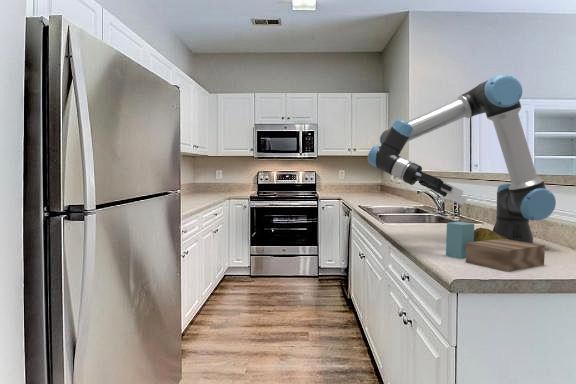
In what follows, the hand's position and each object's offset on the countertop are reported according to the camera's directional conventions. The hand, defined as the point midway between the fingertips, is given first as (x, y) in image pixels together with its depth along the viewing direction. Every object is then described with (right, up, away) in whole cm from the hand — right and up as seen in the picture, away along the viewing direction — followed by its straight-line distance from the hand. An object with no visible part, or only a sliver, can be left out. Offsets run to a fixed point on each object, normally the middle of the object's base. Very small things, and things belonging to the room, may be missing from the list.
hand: (463, 198), depth 146 cm
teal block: (-2, -19, -2) cm, 19 cm away
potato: (+13, -19, +8) cm, 24 cm away
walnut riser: (+7, -20, -13) cm, 25 cm away
